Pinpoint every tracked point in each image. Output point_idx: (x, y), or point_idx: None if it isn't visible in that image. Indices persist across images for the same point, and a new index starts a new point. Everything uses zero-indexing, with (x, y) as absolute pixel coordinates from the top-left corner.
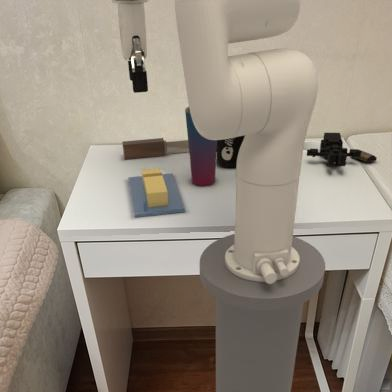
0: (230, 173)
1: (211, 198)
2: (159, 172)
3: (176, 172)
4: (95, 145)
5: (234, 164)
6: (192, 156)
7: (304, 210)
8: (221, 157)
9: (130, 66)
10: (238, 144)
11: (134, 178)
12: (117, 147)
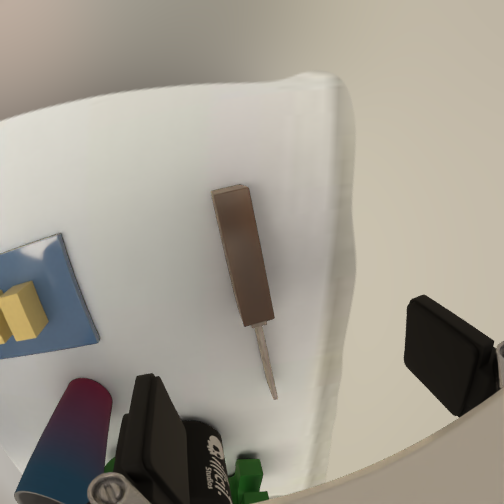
0: None
1: (30, 401)
2: (14, 337)
3: (125, 345)
4: (333, 86)
5: None
6: (50, 420)
7: None
8: None
9: (455, 346)
10: None
11: (52, 253)
12: (314, 153)
